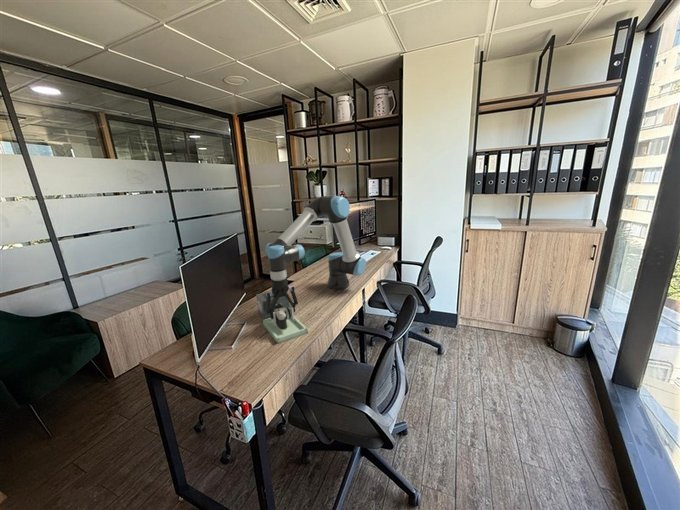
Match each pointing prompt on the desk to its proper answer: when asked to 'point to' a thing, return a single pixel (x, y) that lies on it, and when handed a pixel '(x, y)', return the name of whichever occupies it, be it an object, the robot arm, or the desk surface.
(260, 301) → the block
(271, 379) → the desk surface
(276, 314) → the camera
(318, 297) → the desk surface
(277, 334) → the tray
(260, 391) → the desk surface
